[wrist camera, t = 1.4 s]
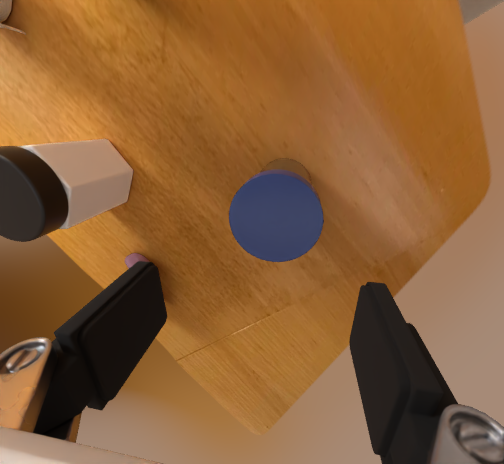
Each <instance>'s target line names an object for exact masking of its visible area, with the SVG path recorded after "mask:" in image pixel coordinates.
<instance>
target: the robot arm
mask: <svg viewBox="0 0 504 464" xmlns="http://www.w3.org/2000/svg"><path fill="white" fill-rule="evenodd" d="M166 319H167V312H166V307H165V302H164V297H163V292H162V287H161V282H160V277H159V272H158V268H157V266H155V265H154V263H152V262H145V261H138V262H136V263H135V264H134V265H133V266H132V267H130V268H129V269H128V270H127V271H126V272H125V273H123V274H122V275H121V276H120V277H119V278H117V279H116V280H115V281H114V282H113V283H112V284H110V285H109V286H108V287H107V288H106V289H104V290H103V291H102V292H101V293H100V294H99V295H97V296H96V297H95V298H94V299H93V300H91V301H90V302H89V303H88V304H87V305H86V306H84V307H83V308H82V309H81V310H80V311H79V312H77V313H76V314H75V315H74V316H73V317H71V318H70V319H69V320H68V321H67V322H66V323H64V324H63V325H62V326H61V327H60V328H58V329H57V330H56V331H55V332H54V334H55V336H56V339H55V340H54V341H53V342H51V341H50V339H47V338H44V337H37V338H32V339H28V340H25V341H22V342H20V343H18V344H16V345H14V346H12V347H10V348H9V349H7V350H6V351H4V352H3V353H1V355H0V464H162V463H158V462H154V461H150V460H146V459H141V458H137V457H132V456H129V455H125V454H121V453H116V452H112V451H108V450H103V449H99V448H95V447H91V446H86V445H82V444H78V443H76V438H77V433H78V429H79V424H80V418H81V413H82V411H83V409H84V408H85V407H86V406H88V407H89V408H93V409H98V410H103V408H104V407H105V405H106V404H107V402H108V401H110V400H112V399H113V398H114V397H115V396H116V395H117V393H118V392H119V390H120V389H121V387H122V386H123V384H124V383H125V381H126V380H127V378H128V377H129V375H130V374H131V372H132V371H133V369H134V368H135V367H136V365H137V364H138V362H139V361H140V359H141V358H142V356H143V355H144V353H145V352H146V350H147V349H148V347H149V346H150V344H151V343H152V341H153V340H154V339H155V337H156V336H157V334H158V333H159V331H160V330H161V328H162V327H163V325H164V324H165V322H166ZM350 350H351V355H352V359H353V364H354V368H355V372H356V377H357V382H358V386H359V390H360V394H361V399H362V403H363V408H364V413H365V417H366V421H367V426H368V431H369V435H370V440H371V444H372V448H373V451H374V453H375V454H377V455H380V457H381V461H382V464H504V427H503V426H501V424H499V423H498V422H497V421H496V420H494V419H493V418H491V417H490V416H488V415H487V414H485V413H483V412H481V411H479V410H477V409H474V408H473V407H469V406H465V405H461V404H458V403H457V401H456V399H455V398H454V396H453V394H452V392H451V391H450V389H449V387H448V385H447V383H446V381H445V380H444V378H443V376H442V375H441V373H440V371H439V369H438V367H437V366H436V364H435V362H434V360H433V359H432V357H431V355H430V353H429V351H428V350H427V348H426V346H425V344H424V343H423V341H422V339H421V337H420V336H419V334H418V332H417V330H416V329H415V327H414V326H413V325H412V324H410V323H406V321H405V320H404V318H403V316H402V314H401V312H400V310H399V308H398V306H397V305H396V303H395V301H394V299H393V297H392V295H391V293H390V291H389V290H388V288H387V286H386V284H384V283H374V282H367V284H366V286H364V285H362V286H361V288H360V292H359V297H358V302H357V306H356V311H355V316H354V321H353V326H352V330H351V335H350Z"/></svg>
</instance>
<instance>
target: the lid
mask: <svg viewBox="0 0 504 464" xmlns="http://www.w3.org/2000/svg"><path fill="white" fill-rule="evenodd" d="M229 222H230V227H231V230H232V233H233V235H234V237H235V239H236V240H237V242H238V243H239V244H240V245H241V247H242V248H243V249H245V250H246V251H247V252H248V253H250V254H251V255H253V256H255V257H257V258H260V259H262V260H266V261H272V262H283V261H289V260H293V259H296V258H298V257H300V256H302V255H303V254H305V253H306V252H307V251H309V250H310V249H311V248H312V247H313V246H314V244H315V243H316V242H317V240H318V238H319V236H320V234H321V231H322V227H323V223H324V220H323V211H322V207H321V203H320V199H319V197H318V194H317V192H316V191H315V189H314V188H313V186H312V185H311V184H310V183H309V182H308V181H307V180H306V179H304V178H303V177H302V176H300V175H298V174H296V173H294V172H291V171H287V170H280V169H275V170H267V171H264V172H261V173H258V174H256V175H254V176H253V177H251V178H250V179H249V180H248V181H247V182H246V183H245V184H244V185H243V186H242V187H241V188H240V189H239V190H238V192H237V193H236V195H235V196H234V198H233V200H232V203H231V206H230V211H229Z"/></svg>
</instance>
